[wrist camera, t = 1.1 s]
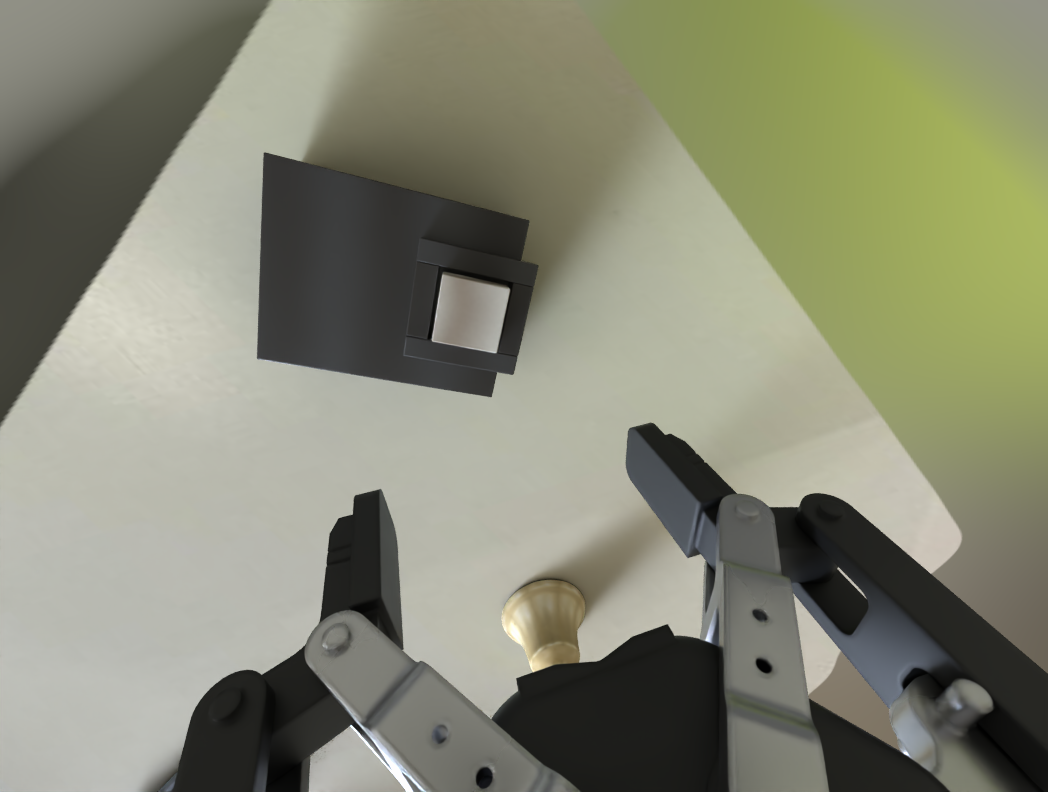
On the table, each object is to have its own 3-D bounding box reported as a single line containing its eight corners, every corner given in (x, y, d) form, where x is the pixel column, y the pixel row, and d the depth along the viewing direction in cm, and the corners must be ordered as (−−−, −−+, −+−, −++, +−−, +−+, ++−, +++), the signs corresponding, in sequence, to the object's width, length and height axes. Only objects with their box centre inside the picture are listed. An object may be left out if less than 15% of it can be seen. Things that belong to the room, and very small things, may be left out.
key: (507, 285, 24) (510, 288, 23) (494, 346, 26) (496, 353, 24) (443, 271, 24) (442, 273, 22) (432, 334, 25) (431, 341, 23)
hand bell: (588, 633, 44) (654, 834, 29) (508, 651, 43) (535, 867, 29) (581, 570, 41) (651, 759, 26) (495, 589, 40) (518, 794, 26)
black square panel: (528, 225, 30) (548, 222, 23) (495, 375, 33) (505, 409, 27) (298, 167, 27) (247, 144, 20) (288, 339, 30) (242, 367, 23)
